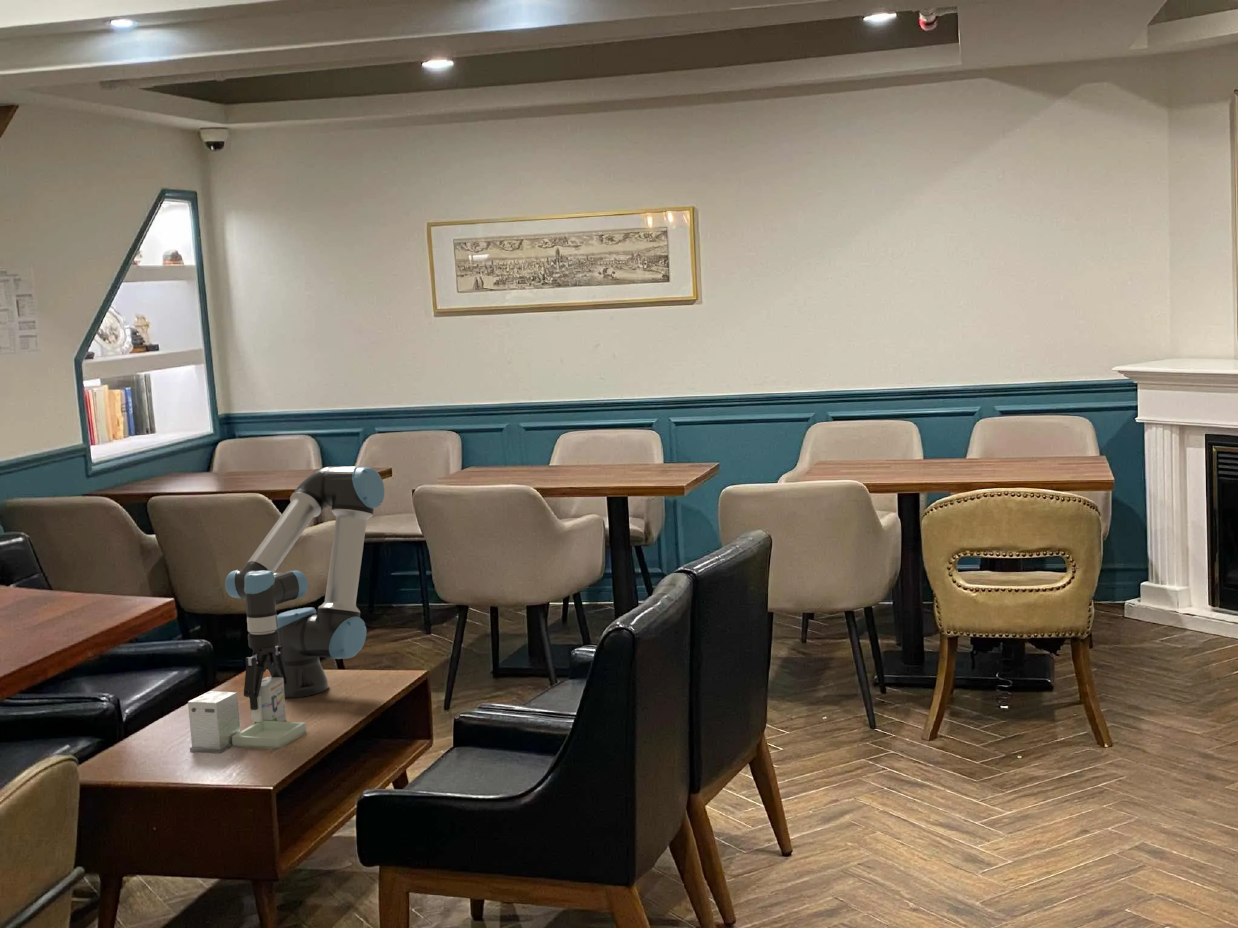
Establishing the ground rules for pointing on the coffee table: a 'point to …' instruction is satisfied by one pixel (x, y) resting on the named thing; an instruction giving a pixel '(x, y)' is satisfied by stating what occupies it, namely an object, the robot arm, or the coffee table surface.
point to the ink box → (272, 699)
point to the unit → (213, 721)
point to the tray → (269, 734)
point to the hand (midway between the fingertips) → (268, 715)
